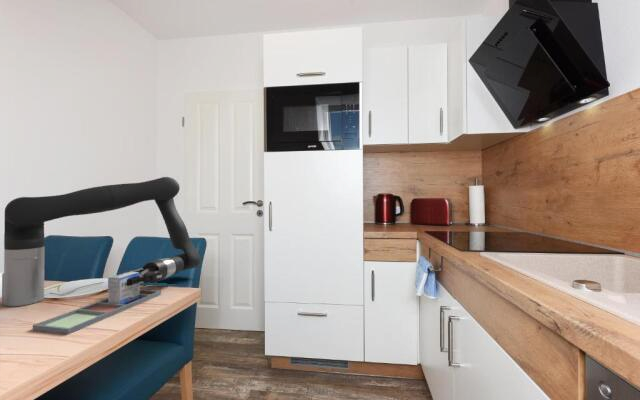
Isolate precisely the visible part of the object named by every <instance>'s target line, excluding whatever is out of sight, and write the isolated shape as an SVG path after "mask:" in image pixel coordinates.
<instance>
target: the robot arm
mask: <svg viewBox="0 0 640 400" xmlns="http://www.w3.org/2000/svg"><path fill="white" fill-rule="evenodd" d="M179 192H180V183H179V182H178V181H177V180H176V179H174V178H173V177H170V176H162V177H158V178H155V179H151V180H150V179H149V180H147V181H143V182H142V181H141V182H133V183H128V182H127V183H118V184H109V185H108V184H107V185H100V186H93V187H88V188H83V189H79V190H76V191H73V192H69V193H64V194H57V195H46V196H32V197H31V196H20V197H17V198H14V199H12V200H11V201H10V202H8V203H7V204H6V206H5V208H4V233H3V234H4V236H3V239H4V240H3V246H4V247H3V249H4V250H3V251H4V252H3V255H4V256H3V259H4V260H3V273H2V274H1V305H2V304H3V306H4V307H20V306H27V305H32V304H35V303H39V302H42V301H43V300H44V299H45V245H46V244H45V243H46V242H45V241H46V239H45V222H50V221H54V220H56V219H61V218H65V217H71V216H72V217H73V216H84V215H91V214H98V213H105V212H109V211H115V210H120V209H123V208H126V207H129V206H133V205H135V204H139V203H144V202H147V201H154V202H155V204H156V206H157V207H158V208H157V209H159V212H160V213H161V216H162V219H163V221H164V224H165V226H166V229H167V232H168V236H169V239H170V242H171V246H172V247H173V249H175V250H181V251H182V252H183V253H179V254H176V255H173V256H170V257H169V256H168V257H166V258H165V257H164V258H159V259H156V260H152V261H149V262H146V263H145V264H144V265H143V267H142V268H138V269H134V270H132V269H127V270H124V271H123V272H120V273H119V274H118V275H120V274H123V273H127V272H139V275H138V276H135V277H132V278H129V279H127V286H131V285H134V284H137V283H139V284H143V283H144V284H149V283H150V284H154V283H157V282H159V281H162V280H165V279H168V278H170V277H171V276H174V275H177V274H179V273H180V272H184V271H188V270H191V269H196V268H198V267H199V266H200V264H201V262H202V261H201V256H200V255H201V254H200V253H199V251H198V249H197V248H196V247H195V245H194V243H192V241H191V239H190V235H189V231H188V230H187V229H188V228H187V227H186V224H185V222H184V221H183V219H182V217H181V216H180V214H179V212H178V210H177V208H176V205H175V201H174V198H175V197H176V196H177V195H178V194H179Z"/></svg>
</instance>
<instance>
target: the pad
mask: <svg viewBox="0 0 640 400" xmlns="http://www.w3.org/2000/svg"><path fill="white" fill-rule="evenodd" d="M97 316H100V315H94V314H84V313H76V314H73V315H71V316H68V317H65V318H63V319H60V320H57V321H54V322H52V323H49V324H46V325H47V326H56V327H64V328H70V327H73V326H75V325H78V324H80V323H82V322H85V321H87V320H90V319H92V318H95V317H97Z"/></svg>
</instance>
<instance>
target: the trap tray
mask: <svg viewBox="0 0 640 400" xmlns="http://www.w3.org/2000/svg"><path fill="white" fill-rule="evenodd" d="M159 296H162V291H161V290H153V289H152V290H150V289H149V290H148V289H140V288H139V298H138V299H136V300H133V301H131V302H129V303H126V304H124V305H123V304H113V303H108V297H107V298H104V299H102V300H99V301H96V302H93V303H91V304H87V305H85V306H82V307H79V308H77V309H74V310H71V311H68V312H65V313H63V314H60V315H57V316H55V317H51V318H48V319H46V320H43V321H40V322H37V323H34V324H33V325H32V330H33V331H38V332H39V331H40V332H46V333H47V332H48V333H55V334H56V333H57V334H63V335H69V334H72V333H76V332H77V331H79V330H82V329H84V328H86V327H89V326H91V325H93V324H96V323H98V322H99V321H103V320H105V319H107V318H110V317H112V316H115V315H116V314H119V313H121V312H123V311H124V312H125V311H126V310H129V309H131V308H133V307H135V306H139V305H140V304H142V303H144V302H147V301H149V300H152V299H154V298H157V297H159ZM76 313H84V314H94V315H100V316H97V317H95V318H92V319H90V320H87V321H85V322H82V323H80V324H78V325H75V326H73V327H70V328H64V327H56V326H47V325H46V324H49V323H52V322H54V321H57V320H60V319H63V318H65V317H68V316H71V315H73V314H76Z"/></svg>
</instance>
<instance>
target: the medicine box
mask: <svg viewBox="0 0 640 400" xmlns="http://www.w3.org/2000/svg"><path fill="white" fill-rule="evenodd" d="M119 274H120V273H119ZM119 274H117V275H114V276H110V277H107V298H108V303H113V304H123V305H127V304H129V303H131V302H134V301H136V300H139V299H140V298H139V289H140V283H137V284H134V285H131V286H127V279H129V278H132V277H135V276H138V275H139V272H127V273H123V274H120V275H119Z"/></svg>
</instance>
